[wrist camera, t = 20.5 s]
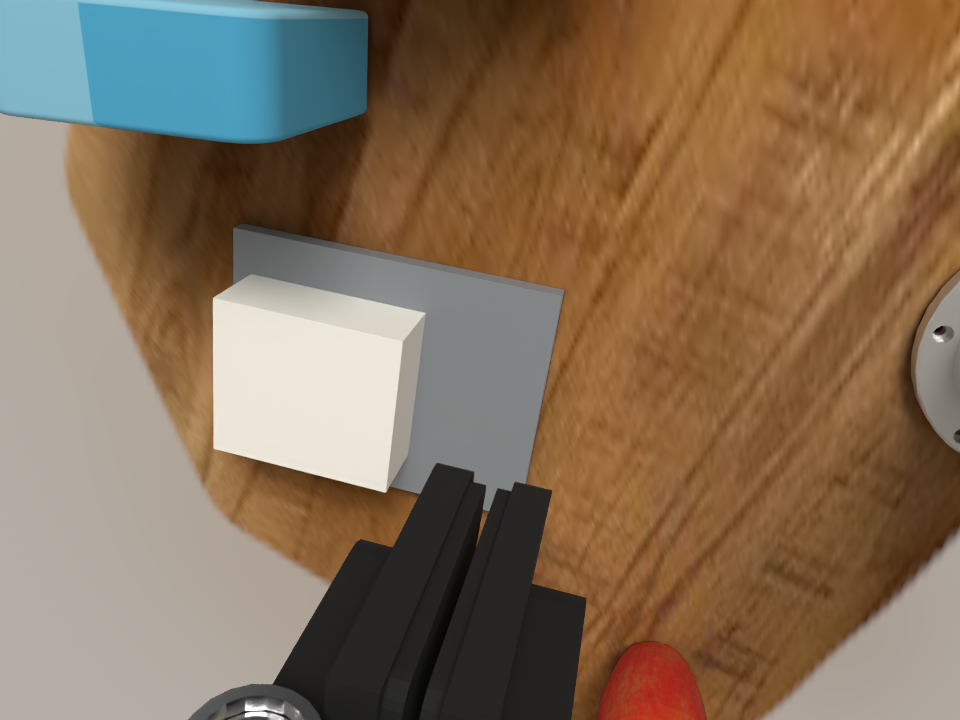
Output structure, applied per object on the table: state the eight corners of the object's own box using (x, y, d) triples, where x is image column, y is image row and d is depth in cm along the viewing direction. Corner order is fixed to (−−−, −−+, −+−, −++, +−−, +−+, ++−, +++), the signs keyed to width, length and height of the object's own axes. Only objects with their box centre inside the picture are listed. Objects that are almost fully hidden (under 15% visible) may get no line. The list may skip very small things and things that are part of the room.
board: (565, 289, 40) (562, 296, 39) (521, 508, 46) (518, 518, 45) (242, 223, 42) (233, 227, 41) (241, 439, 48) (233, 447, 47)
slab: (403, 341, 37) (212, 297, 38) (386, 492, 41) (213, 448, 42) (425, 312, 41) (251, 274, 42) (407, 454, 45) (248, 415, 46)
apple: (614, 701, 50) (607, 806, 44) (593, 627, 48) (581, 726, 41) (713, 697, 48) (721, 806, 42) (695, 620, 46) (701, 722, 40)
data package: (157, 86, 40) (-27, 112, 29) (148, -10, 38) (-53, -19, 27) (376, 111, 38) (264, 148, 27) (378, 11, 36) (259, 9, 25)
